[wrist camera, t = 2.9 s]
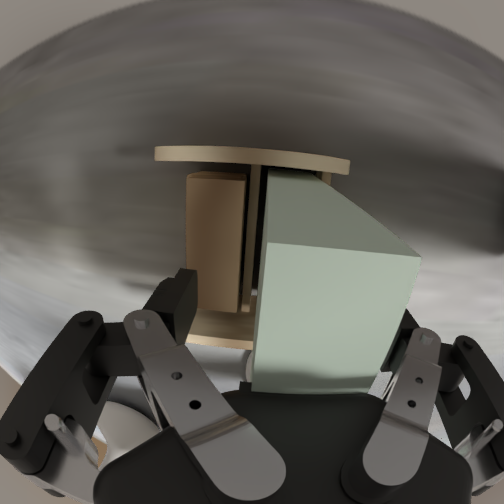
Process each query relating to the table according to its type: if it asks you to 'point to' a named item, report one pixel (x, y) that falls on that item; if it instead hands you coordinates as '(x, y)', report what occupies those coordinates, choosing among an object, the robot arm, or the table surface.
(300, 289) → the tall sheet
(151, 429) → the flower in vase
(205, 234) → the block
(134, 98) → the table surface
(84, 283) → the table surface
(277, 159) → the offcut rack
